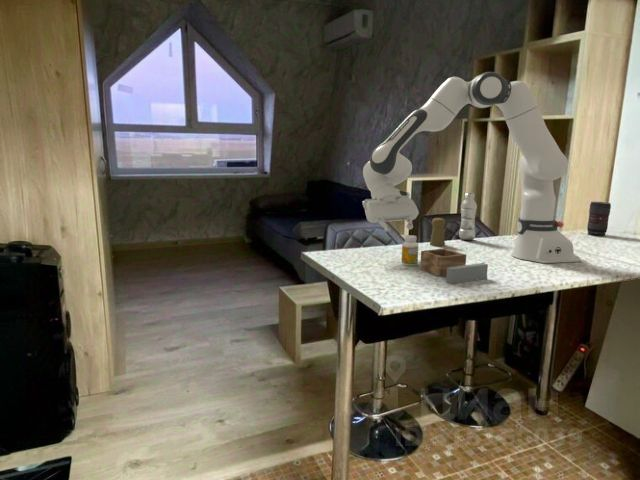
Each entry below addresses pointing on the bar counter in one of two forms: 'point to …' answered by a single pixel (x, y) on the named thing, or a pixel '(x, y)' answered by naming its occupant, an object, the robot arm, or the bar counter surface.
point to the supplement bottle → (410, 251)
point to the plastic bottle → (468, 217)
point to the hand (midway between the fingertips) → (399, 229)
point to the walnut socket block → (441, 260)
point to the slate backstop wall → (466, 273)
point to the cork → (437, 232)
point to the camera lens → (598, 218)
